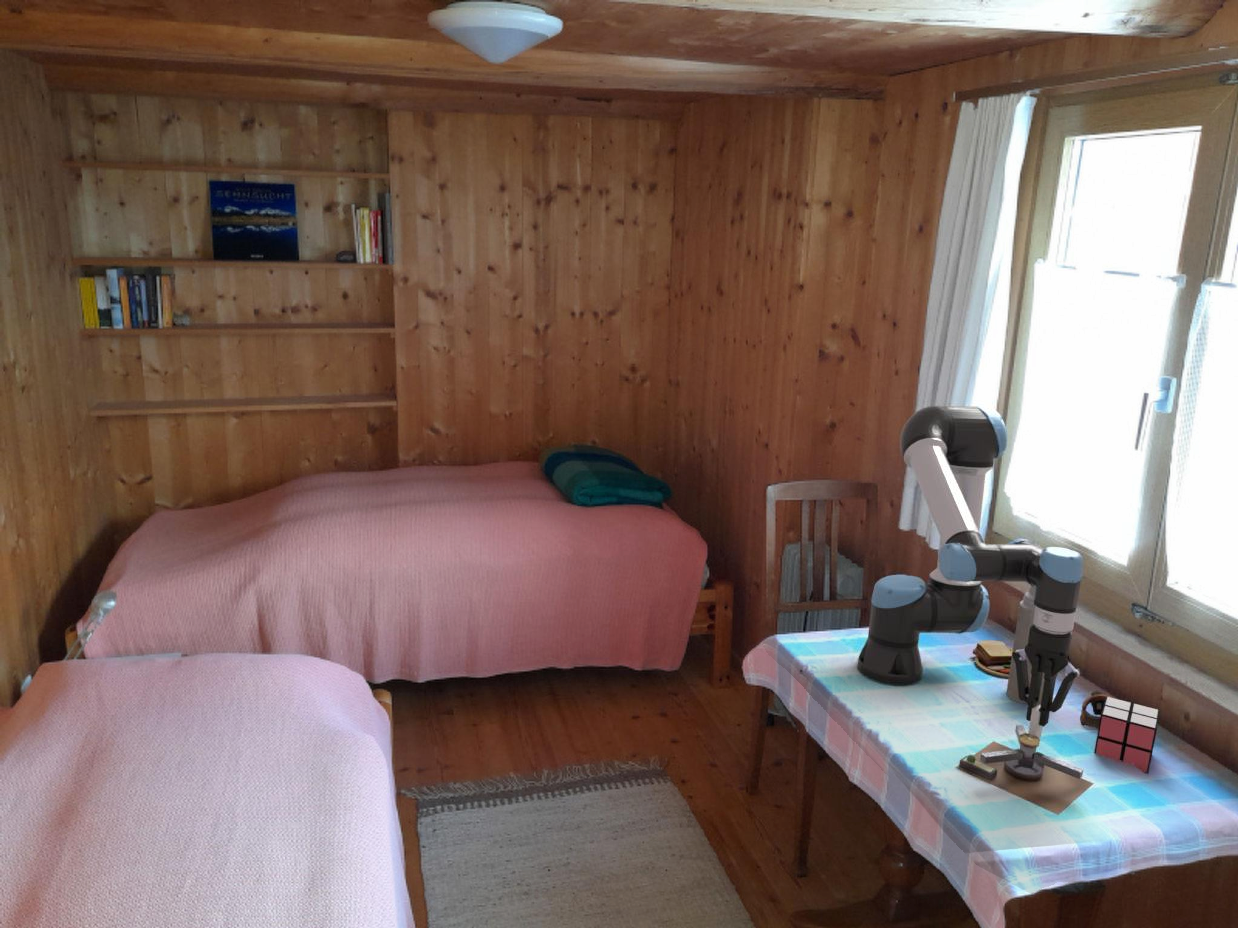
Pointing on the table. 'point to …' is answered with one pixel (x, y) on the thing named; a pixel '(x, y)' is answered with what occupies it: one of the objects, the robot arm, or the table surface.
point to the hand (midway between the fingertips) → (1034, 737)
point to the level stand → (1047, 792)
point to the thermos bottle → (1022, 644)
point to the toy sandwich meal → (993, 657)
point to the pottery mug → (1097, 704)
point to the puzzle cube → (1127, 732)
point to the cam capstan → (1028, 759)
